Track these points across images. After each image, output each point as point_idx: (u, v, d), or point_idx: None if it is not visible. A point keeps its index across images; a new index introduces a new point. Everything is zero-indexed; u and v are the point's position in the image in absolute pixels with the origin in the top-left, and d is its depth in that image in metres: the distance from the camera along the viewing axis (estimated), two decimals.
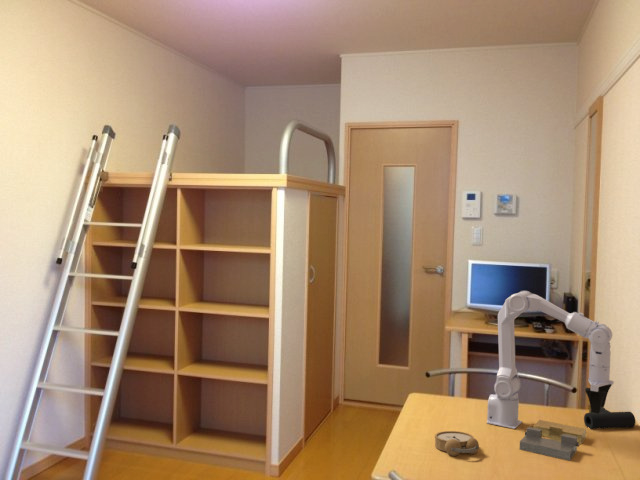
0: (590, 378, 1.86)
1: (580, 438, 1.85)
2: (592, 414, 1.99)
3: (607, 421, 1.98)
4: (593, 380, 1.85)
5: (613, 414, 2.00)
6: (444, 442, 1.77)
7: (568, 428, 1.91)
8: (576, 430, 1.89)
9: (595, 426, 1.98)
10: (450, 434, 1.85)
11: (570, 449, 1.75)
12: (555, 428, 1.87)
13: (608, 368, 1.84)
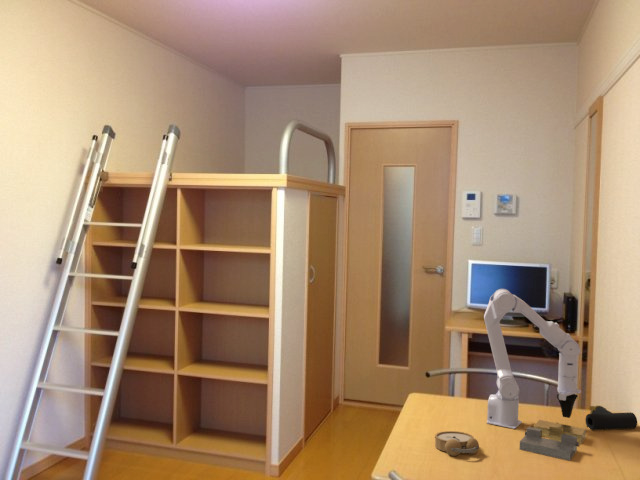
0: (559, 387, 1.98)
1: (580, 438, 1.85)
2: (594, 415, 1.98)
3: (609, 422, 1.97)
4: (562, 389, 1.97)
5: (615, 415, 1.99)
6: (444, 442, 1.77)
7: (568, 428, 1.91)
8: (576, 430, 1.89)
9: (597, 427, 1.97)
10: (450, 434, 1.85)
11: (570, 449, 1.75)
12: (555, 428, 1.87)
13: (575, 378, 1.96)
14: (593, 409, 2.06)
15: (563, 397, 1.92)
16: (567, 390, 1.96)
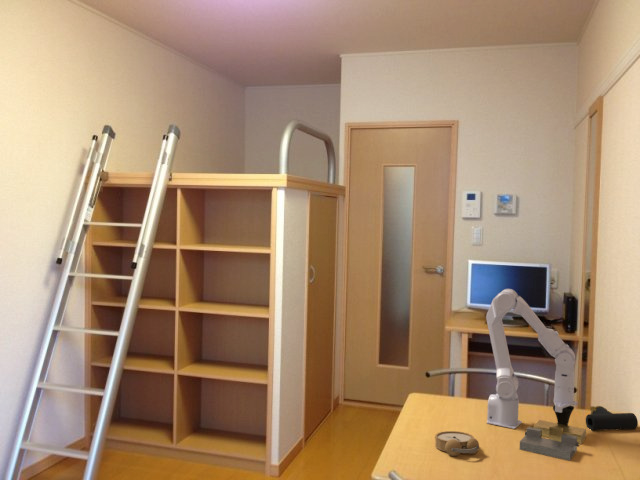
0: (555, 399, 1.95)
1: (580, 438, 1.85)
2: (594, 415, 1.98)
3: (609, 423, 1.97)
4: (558, 401, 1.93)
5: (615, 415, 1.98)
6: (444, 442, 1.77)
7: (568, 428, 1.91)
8: (575, 430, 1.89)
9: (597, 428, 1.96)
10: (450, 434, 1.85)
11: (570, 449, 1.75)
12: (555, 428, 1.87)
13: (572, 389, 1.93)
14: (593, 409, 2.06)
15: (559, 409, 1.89)
16: (563, 402, 1.92)
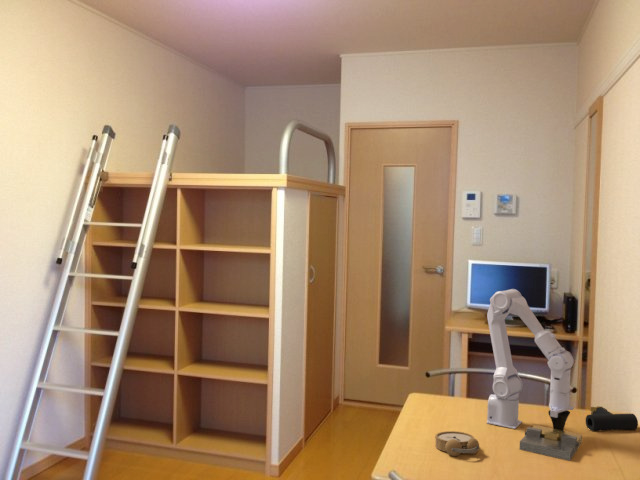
0: (551, 403, 1.90)
1: None
2: (594, 416, 1.97)
3: (609, 423, 1.96)
4: (553, 406, 1.89)
5: (615, 416, 1.98)
6: (444, 442, 1.77)
7: (564, 433, 1.86)
8: None
9: (597, 428, 1.96)
10: (450, 434, 1.85)
11: (570, 449, 1.75)
12: (550, 434, 1.82)
13: (568, 394, 1.88)
14: (594, 410, 2.05)
15: (555, 414, 1.84)
16: (559, 406, 1.88)
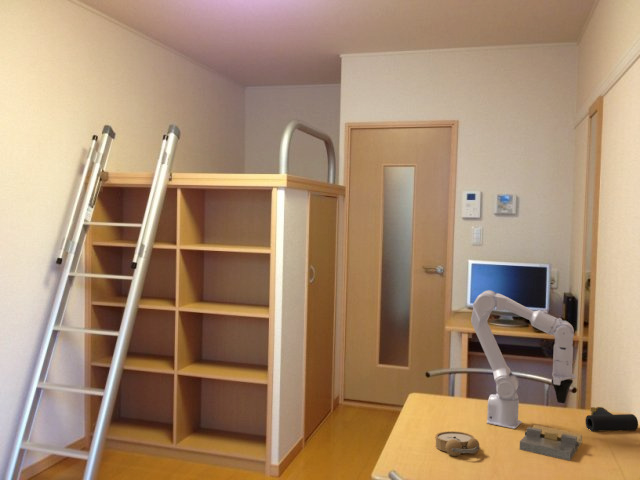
0: (554, 372, 1.95)
1: None
2: (593, 416, 1.97)
3: (609, 424, 1.96)
4: (556, 374, 1.94)
5: (615, 416, 1.97)
6: (445, 442, 1.77)
7: (564, 433, 1.86)
8: None
9: (596, 428, 1.96)
10: (451, 434, 1.84)
11: (570, 449, 1.75)
12: (550, 434, 1.82)
13: (570, 363, 1.93)
14: (594, 410, 2.05)
15: (557, 382, 1.89)
16: (562, 375, 1.92)
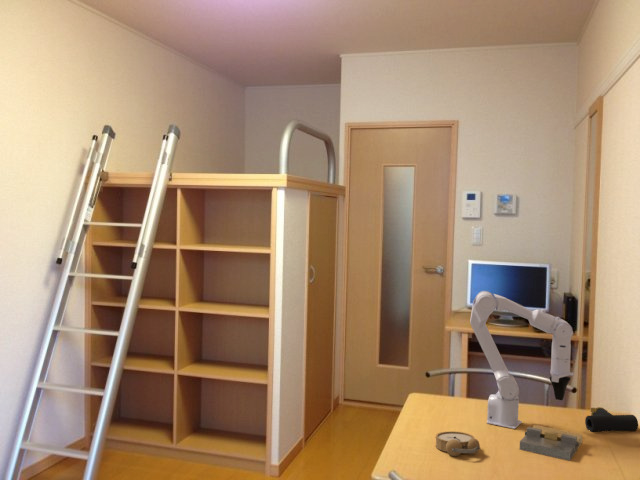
0: (552, 370, 1.98)
1: None
2: (593, 417, 1.97)
3: (608, 424, 1.95)
4: (554, 372, 1.97)
5: (615, 417, 1.97)
6: (445, 442, 1.77)
7: (564, 433, 1.86)
8: None
9: (596, 429, 1.95)
10: (451, 434, 1.84)
11: (570, 449, 1.75)
12: (550, 434, 1.82)
13: (568, 360, 1.96)
14: (594, 411, 2.04)
15: (556, 379, 1.92)
16: (560, 372, 1.96)
